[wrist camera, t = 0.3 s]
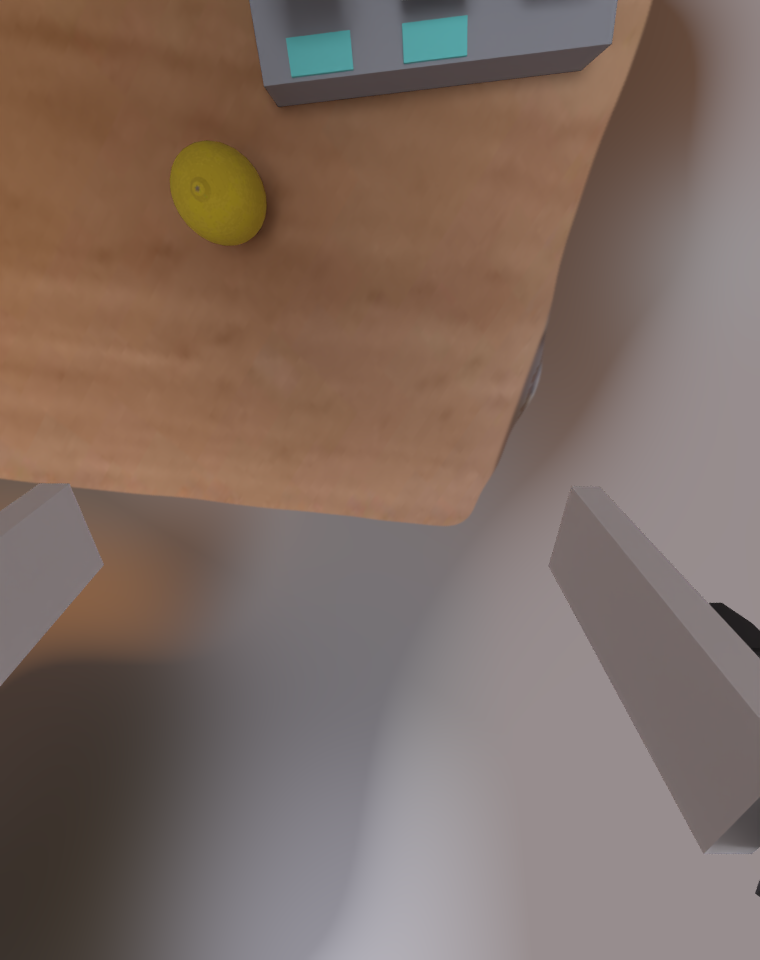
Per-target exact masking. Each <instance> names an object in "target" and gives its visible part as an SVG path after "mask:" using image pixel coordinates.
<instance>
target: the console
mask: <svg viewBox="0 0 760 960" xmlns="http://www.w3.org/2000/svg"><path fill="white" fill-rule="evenodd" d="M617 1H618V0H249V2H250V7H251V13H252V19H253V25H254V31H255V37H256V42H257V48H258V54H259V60H260V66H261V71H262V77H263V83H264V87H265V88H266V90H267V91H268V93H269V94H270V96H271V97H272V98H273V100H274V101H275V103H276V104H277V106H278V107H282V106H290V105H298V104H306V103H315V102H323V101H331V100H340V99H348V98H356V97H365V96H373V95H381V94H390V93H398V92H406V91H415V90H423V89H431V88H440V87H448V86H456V85H465V84H473V83H481V82H490V81H498V80H506V79H515V78H523V77H531V76H540V75H548V74H556V73H564V72H573V71H581V70H582V69H583V68H584V67H586V66H587V65H588V64H589V63H590V62H591V61H592V60H594V59H595V58H596V57H597V56H598V55H599V54H600V53H602V52H603V51H604V50H605V49H606V48H607V47H608V46H610V45H611V44H612V38H613V31H614V23H615V16H616V8H617Z"/></svg>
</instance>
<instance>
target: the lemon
mask: <svg viewBox="0 0 760 960" xmlns="http://www.w3.org/2000/svg"><path fill="white" fill-rule="evenodd" d="M170 190H171V194H172V198H173V201H174V204H175V206H176V208H177V210H178V212H179V214H180V216H181V217H182V218H183V220H184V221H185V222H186V224H187V225H188V226H189V227H190V228H191V229H192V230H193V231H195V232H196V233H197V234H198V235H199V236H201V237H203V238H205V239H206V240H208V241H210V242H212V243H216V244H220V245H224V246H230V245H239V244H242V243H245V242H247V241H248V240H250V239H251V238H253V237H254V236H255V235H256V234H257V232H258V231H259V230H260V228H261V227H262V224H263V222H264V219H265V215H266V208H267V204H266V194H265V190H264V187H263V183H262V181H261V179H260V177H259V175H258V173H257V171H256V169H255V168H254V167H253V166H252V164H251V163H250V162H249V161H248V159H247V158H246V157H244V156H243V155H242V154H241V153H239V152H238V151H237V150H236V149H234V148H232V147H230V146H228V145H225V144H223V143H221V142H214V141H201V142H196V143H193V144H191V145H189V146H187V147H186V148H184V149H183V150H182V151H181V152H180V153H179V154H178V155H177V157H176V159H175V161H174V163H173V165H172V169H171V175H170Z"/></svg>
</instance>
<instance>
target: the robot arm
mask: <svg viewBox="0 0 760 960" xmlns="http://www.w3.org/2000/svg"><path fill="white" fill-rule="evenodd" d="M103 565H104V564H103V562H102V559H101V557H100V555H99V552H98V550H97V548H96V545H95V543H94V540H93V538H92V536H91V533H90V531H89V529H88V526H87V524H86V522H85V519H84V517H83V515H82V512H81V510H80V508H79V505H78V503H77V500H76V498H75V496H74V493H73V491H72V489H71V486H70V484H44V483H40V484H38V485H37V486H35V487H34V488H32V489H31V490H30V491H28V492H27V493H25V494H24V495H23V496H21V497H20V498H18V499H17V500H15V501H14V502H13V503H11V504H10V505H8V506H7V507H6V508H4V509H3V510H1V511H0V686H1V684H2V683H3V682H4V681H5V680H6V679H7V677H8V676H9V675H10V674H11V673H12V672H13V670H14V669H15V668H16V667H17V666H18V665H19V663H20V662H21V661H22V660H23V659H24V658H25V656H26V655H27V654H28V653H29V652H30V650H31V649H32V648H33V647H34V646H35V644H36V643H37V642H38V641H39V640H40V639H41V638H42V636H43V635H44V634H45V633H46V632H47V630H48V629H49V628H50V627H51V626H52V625H53V624H54V622H55V621H56V620H57V619H58V618H59V617H60V615H61V614H62V613H63V612H64V611H65V610H66V608H67V607H68V606H69V605H70V604H71V603H72V601H73V600H74V599H75V598H76V597H77V596H78V594H79V593H80V592H81V591H82V590H83V588H84V587H85V586H86V585H87V584H88V583H89V581H90V580H91V579H92V578H93V577H94V576H95V574H96V573H97V572H98V571H99V570H100V568H101V567H102V566H103ZM549 568H550V569H551V572H552V573H553V575H554V577H555V579H556V581H557V583H558V584H559V586H560V588H561V590H562V592H563V594H564V596H565V598H566V599H567V601H568V603H569V605H570V607H571V609H572V611H573V612H574V614H575V616H576V618H577V620H578V622H579V623H580V625H581V627H582V629H583V631H584V633H585V635H586V636H587V638H588V640H589V642H590V644H591V646H592V647H593V650H594V651H595V653H596V655H597V657H598V659H599V660H600V663H601V664H602V666H603V668H604V670H605V672H606V674H607V675H608V677H609V679H610V681H611V683H612V685H613V686H614V688H615V690H616V692H617V694H618V696H619V698H620V700H621V702H622V703H623V705H624V707H625V709H626V711H627V713H628V714H629V716H630V718H631V720H632V722H633V724H634V726H635V727H636V729H637V731H638V733H639V735H640V737H641V739H642V740H643V742H644V744H645V746H646V748H647V750H648V752H649V753H650V755H651V757H652V759H653V761H654V763H655V765H656V767H657V768H658V770H659V772H660V774H661V776H662V778H663V780H664V781H665V783H666V785H667V787H668V789H669V791H670V792H671V794H672V796H673V798H674V800H675V802H676V804H677V806H678V807H679V809H680V811H681V813H682V815H683V817H684V819H685V820H686V822H687V824H688V826H689V828H690V830H691V832H692V833H693V835H694V837H695V839H696V840H697V843H698V845H699V846H700V848H701V850H702V852H703V854H752V853H753V852H755V851H756V850H757V849H758V848H759V847H760V631H759V630H758V629H757V628H756V627H755V626H754V625H753V624H752V623H751V622H749V621H748V620H746V619H745V618H743V617H742V616H740V615H739V614H738V613H736V612H735V611H733V610H732V609H730V608H728V607H727V606H726V605H724V604H723V603H708V602H707V601H706V600H705V599H704V598H703V597H702V596H701V595H700V594H699V593H698V591H697V590H696V589H694V587H693V586H692V585H691V584H690V583H689V582H688V581H687V580H686V579H685V578H684V577H683V575H682V574H681V573H680V572H679V571H678V570H677V569H676V568H675V567H674V566H673V565H672V564H671V563H670V561H669V560H668V559H667V558H666V557H665V556H664V555H663V554H662V553H661V552H660V551H659V550H658V548H657V547H656V546H655V545H654V544H653V543H652V542H651V541H650V540H649V539H648V538H647V537H646V536H645V534H644V533H642V531H641V530H640V529H639V528H638V527H637V526H636V525H635V524H634V523H633V522H632V520H630V518H629V517H628V516H627V515H626V514H625V513H624V512H623V511H622V510H621V509H620V508H619V507H618V506H617V504H616V503H615V502H614V501H613V500H612V499H611V498H610V497H609V496H608V495H607V494H606V493H605V491H603V489H602V488H601V487H588V486H587V487H585V486H583V487H582V486H579V487H577V486H574V487H573V486H571V489H570V492H569V496H568V500H567V503H566V506H565V510H564V513H563V517H562V521H561V524H560V527H559V531H558V535H557V538H556V542H555V545H554V549H553V552H552V556H551V559H550V563H549ZM756 894H757V895H758V896H760V881H759V884H758V886H757V890H756Z"/></svg>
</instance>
